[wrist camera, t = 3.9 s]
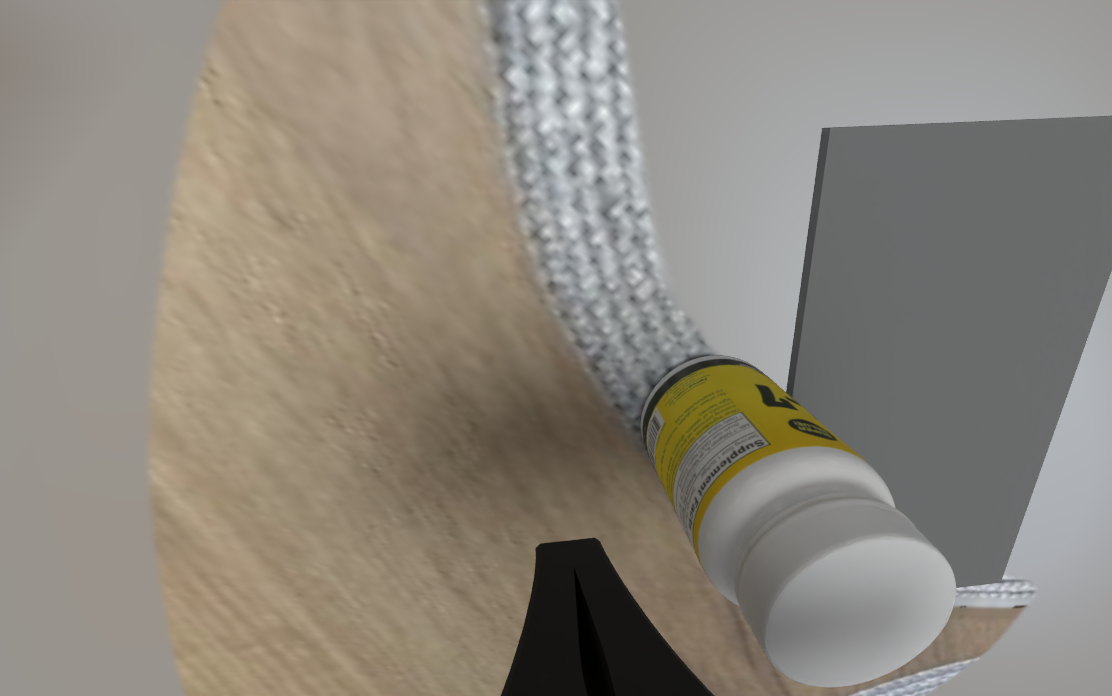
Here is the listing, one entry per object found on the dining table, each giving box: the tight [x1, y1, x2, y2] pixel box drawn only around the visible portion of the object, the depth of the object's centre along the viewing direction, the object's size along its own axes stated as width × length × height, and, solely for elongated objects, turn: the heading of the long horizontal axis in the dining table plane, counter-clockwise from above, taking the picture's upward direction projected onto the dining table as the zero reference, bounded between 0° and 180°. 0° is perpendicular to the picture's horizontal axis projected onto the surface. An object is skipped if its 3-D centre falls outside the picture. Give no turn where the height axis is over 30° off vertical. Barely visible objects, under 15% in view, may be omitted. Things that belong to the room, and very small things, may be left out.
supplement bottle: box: [641, 355, 956, 687], centre depth 14 cm, size 5×5×8 cm
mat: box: [786, 116, 1112, 588], centre depth 19 cm, size 18×10×1 cm, turn 2°
